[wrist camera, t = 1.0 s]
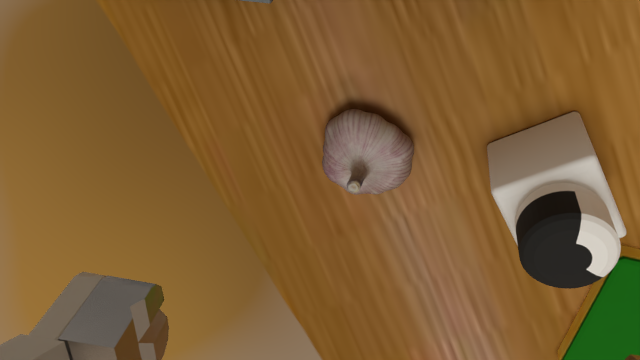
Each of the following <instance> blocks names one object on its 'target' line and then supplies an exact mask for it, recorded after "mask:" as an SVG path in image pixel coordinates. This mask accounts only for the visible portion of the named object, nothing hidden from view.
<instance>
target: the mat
mask: <svg viewBox="0 0 640 360" xmlns="http://www.w3.org/2000/svg"><path fill="white" fill-rule="evenodd" d="M242 1H252V2H262V3H271V2H272V1H273V0H242Z"/></svg>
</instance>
